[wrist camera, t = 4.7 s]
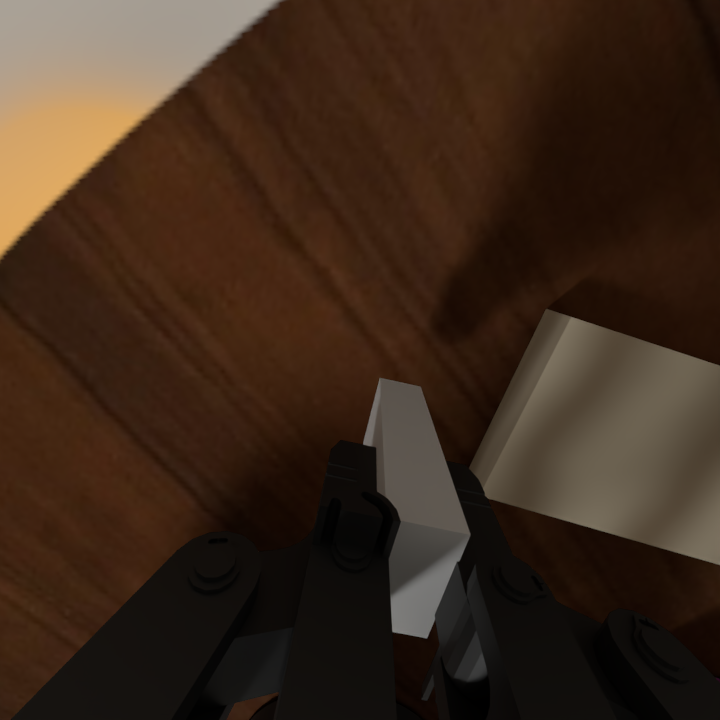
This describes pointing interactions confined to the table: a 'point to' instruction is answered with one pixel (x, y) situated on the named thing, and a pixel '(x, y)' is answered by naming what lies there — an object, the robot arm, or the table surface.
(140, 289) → the table surface
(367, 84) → the table surface
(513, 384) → the panel
